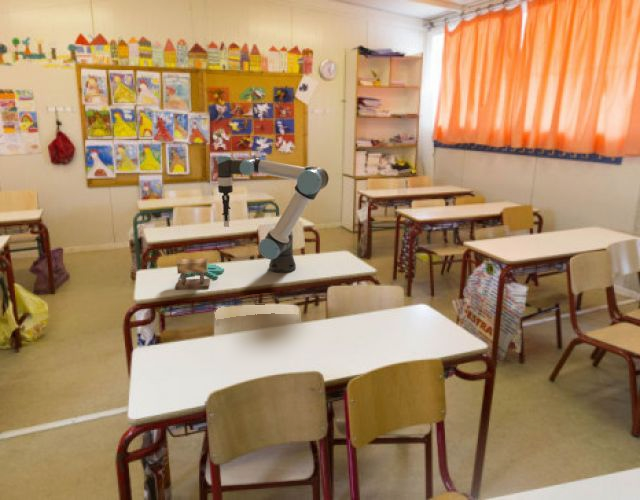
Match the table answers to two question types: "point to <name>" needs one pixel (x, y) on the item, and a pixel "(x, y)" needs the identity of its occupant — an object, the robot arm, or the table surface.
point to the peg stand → (192, 283)
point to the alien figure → (209, 271)
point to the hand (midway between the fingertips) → (226, 223)
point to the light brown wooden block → (192, 265)
